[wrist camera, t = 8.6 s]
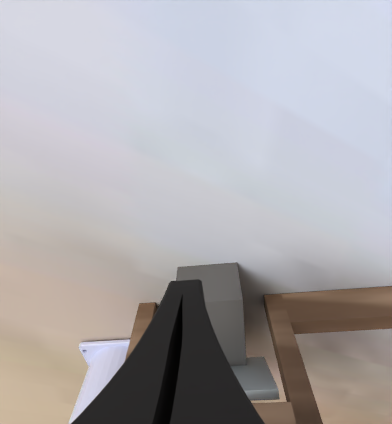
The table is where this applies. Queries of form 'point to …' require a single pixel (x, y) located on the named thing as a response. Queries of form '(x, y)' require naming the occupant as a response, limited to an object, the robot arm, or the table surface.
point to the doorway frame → (298, 324)
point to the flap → (256, 379)
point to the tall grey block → (222, 305)
